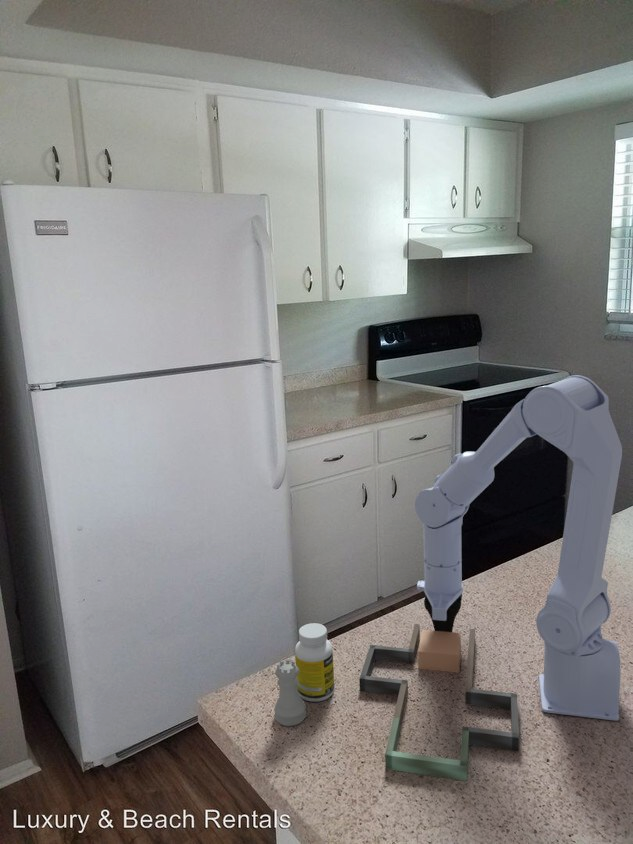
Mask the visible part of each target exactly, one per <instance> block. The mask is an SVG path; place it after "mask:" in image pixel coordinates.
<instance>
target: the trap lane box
mask: <svg viewBox="0 0 633 844" xmlns="http://www.w3.org/2000/svg"><path fill="white" fill-rule="evenodd" d="M468 635H469V636H468V646H467V647H468V649H467V661H466V662H467V663H466V665H467V666H466V674H465V675H466V676H465V689H464V690H465V693H464V699H465V701H464V703H465V705H469V706H477V707H484V708H492V709H501V710H502V709H503V710H510V725H511V731H502V730H495V729H489V728H488V729H487V728H481V727H473V726H464V725H462V729H461V742H460V755H459V756H460V757H459V758H460V759H459V760H457V759H451V758H446V757H445V758H444V757H438V756H430V755H424V754H416V753H409V752H404V751H397V747H398V744H399V737H400V733H401V729H402V722H403V718H404V714H405V709H406V704H407V700H408V694H409V688H408V687H409V684H408V680H407V679H397V678H389V677H379V676H372V675H371V674H372V672H373V668H374V664H375V661H382V662H393V663H402V664H410V665H414V664H415V661H416V660H415V659H416V655H417V652H418V647H419V643H420V638H421V630H420V624H419V623H414V626H413V630H412V634H411V638H410V641H409V647H408V648H406V647H405V648H404V647H396V646H395V647H394V646H384V645H374V644H370V645H369V648H368V651H367V654H366V656H365V657H366V658H365V660H364V663H363V666H362V670H361V672H360V676H359V678H358V679H359V691H360V692H365V693H366V692H368V693H375V694H376V693H377V694H385V695H392V696H397V700H396V704H395V709H394V713H393V717H392V722H391V727H390V731H389V734H388V739H387V744H386V749H385V754H384V765H385V769H386V770H392V771H398V772H404V773H410V774H418V775H425V776H430V775H431V776H432V777H438V778H445V779H451V780H458V781H464V782H467V781H468V770H469V769H468V768H469V766H468V765H469V748H470V746H475V747H481V748H489V749H496V750H503V751H511V752H518V753H519V752H520V731H519V730H520V729H519V728H520V727H519V712H518V711H519V709H518V708H519V707H518V706H519V705H518V693H515V692H506V691H504V692H503V691H495V690H488V689H479V688H473V682H474V680H473V679H474V663H475V648H476V646H475V645H476V628H469V634H468Z"/></svg>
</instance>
